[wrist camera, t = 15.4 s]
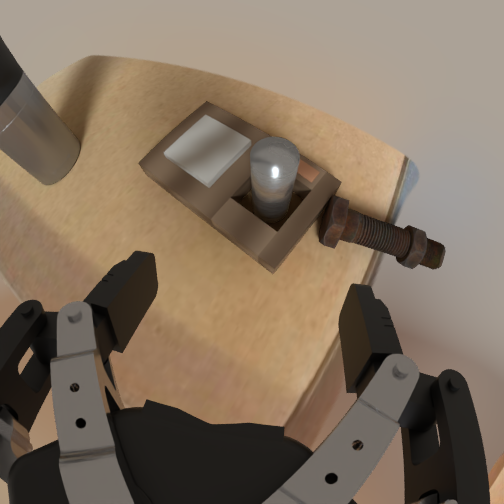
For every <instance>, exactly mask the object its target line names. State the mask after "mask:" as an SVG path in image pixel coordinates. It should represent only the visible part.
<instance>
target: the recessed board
mask: <svg viewBox="0 0 504 504" xmlns="http://www.w3.org/2000/svg"><path fill="white" fill-rule="evenodd" d="M267 137H272V136H270V135H268V134H267V133H265V132H263V131H261V130H260V129H258V128H256V127H254V126H253V125H251V124H249V123H247V122H245V121H244V120H242V119H240V118H238V117H236V116H234V115H233V114H231V113H229V112H227V111H225V110H223V109H221V108H219V107H217V106H215V105H213V104H211V103H209V102H207V101H206V102H205V103H204V104H203V105H201V106H200V107H199V108H198V109H196V110H195V111H194V112H193V113H192V114H191V115H189V116H188V117H187V118H186V119H185V120H183V121H182V122H181V123H180V124H179V125H178V126H177V127H176V128H174V129H173V130H172V131H171V132H170V133H169V134H168V135H167V136H166V137H164V138H163V139H162V140H161V141H160V142H159V143H158V144H157V145H156V146H155V147H154V148H153V149H152V150H151V151H150V152H149V153H148V154H147V155H146V156H145V157H144V158H143V159H142V160H141V161H140V162H139V165H140V166H141V168H142V169H143V171H144V172H145V174H146V175H147V176H148V177H150V178H151V179H152V180H153V181H155V182H156V183H157V184H158V185H160V186H161V187H162V188H164V189H165V190H166V191H167V192H169V193H170V194H171V195H172V196H174V197H175V198H176V199H177V200H179V201H180V202H181V203H183V204H184V205H185V206H186V207H188V208H189V209H190V210H192V211H193V212H194V213H195V214H197V215H198V216H199V217H200V218H202V219H203V220H204V221H206V222H207V223H208V224H209V225H211V226H212V227H213V228H214V229H216V230H217V231H218V232H220V233H221V234H222V235H223V236H225V237H226V238H227V239H229V240H230V241H231V242H232V243H234V244H235V245H236V246H237V247H239V248H240V249H241V250H243V251H244V252H245V253H246V254H248V255H249V256H250V257H252V258H253V259H254V260H255V261H257V262H258V263H259V264H261V265H262V266H263V267H264V268H266V269H267V270H268V271H270V272H271V273H272V274H274V273H275V271H276V270H277V269H278V268H279V266H280V265H281V264H282V263H283V261H284V260H285V259H286V258H287V256H288V255H289V254H290V252H291V251H292V250H293V249H294V247H295V246H296V245H297V244H298V242H299V241H300V240H301V238H302V237H303V236H304V234H305V233H306V232H307V231H308V229H309V228H310V227H311V225H312V224H313V223H314V222H315V220H316V219H317V218H318V216H319V215H320V214H321V212H322V211H323V210H324V208H325V207H326V206H327V203H328V201H329V199H330V198H331V196H332V195H335V194H336V192H337V190H338V188H339V186H340V184H341V183H342V182H341V181H339V180H338V179H336V178H335V177H334V176H332V175H331V174H329V173H328V172H326V171H325V170H324V169H322V168H321V167H319V166H318V165H316V164H315V163H313V162H312V161H310V160H309V159H307V158H305V157H304V156H302V155H301V154H300V161H299V166H298V170H297V174H296V179H295V183H294V187H293V192H294V193H295V194H297V195H298V196H300V197H301V198H303V199H304V200H303V201H302V203H301V204H300V205H299V206H298V208H297V209H296V210H295V211H294V212H293V214H292V215H291V216H290V217H289V219H288V220H287V221H286V222H285V223H284V225H283V226H282V227H281V228H280V230H279V231H278V232H277V231H275V230H274V229H273V228H271V227H270V226H269V225H267V224H266V223H264V222H263V221H262V220H260V219H259V218H258V217H256V216H255V215H254V214H252V213H251V212H250V211H248V210H247V209H245V208H244V207H243V206H241V205H240V204H239V202H240V201H241V200H242V199H243V197H244V196H245V195H246V194H247V193H248V192H249V191H250V190H251V189H252V184H251V165H250V152H251V149H252V147H253V146H254V145H255V143H257V142H258V141H259V140H261V139H264V138H267Z"/></svg>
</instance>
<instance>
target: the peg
mask: <svg viewBox="0 0 504 504" xmlns="http://www.w3.org/2000/svg"><path fill="white" fill-rule="evenodd" d="M299 161H300V154H299V151H298V149H297V148H296V146H295V145H294V144H293V143H292V142H290V141H288V140H287V139H284V138H281V137H267V138H264V139H261V140H259V141H258V142H257V143H255V145H254V146H253V147H252V149H251V152H250V165H251V184H252V204H253V211H254V213H255V215H256V216H257V217H258V218H259V219H260V220H262V221H264V222H267V223H274V222H278V221H280V220H282V219H283V218H284V217H285V216H286V214H287V212H288V208H289V204H290V200H291V195H292V191H293V187H294V183H295V179H296V174H297V170H298V166H299Z"/></svg>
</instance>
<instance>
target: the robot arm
mask: <svg viewBox="0 0 504 504" xmlns="http://www.w3.org/2000/svg"><path fill="white" fill-rule="evenodd" d="M0 149H1V150H2V151H3V152H4V153H6V154H7V155H8V156H9V157H10V158H11V159H13V160H14V161H15V162H16V163H17V164H19V165H20V166H21V167H22V168H23V169H25V170H26V171H27V172H28V173H29V174H31V175H32V176H33V177H35V178H36V179H37V180H38V181H40V182H41V183H42V184H44V185H51V184H54V183H56V182H58V181H59V180H60V179H62V178H63V177H64V176H65V175H66V174H67V173H68V172H69V171H70V169H71V168H72V167H73V165H74V163H75V162H76V160H77V157H78V155H79V151H80V143H79V141H78V139H77V138H76V137H75V135H74V134H73V133H72V132H71V131H70V129H69V128H68V127H67V126H66V124H65V123H64V122H63V121H62V120H61V118H60V117H59V116H58V115H57V114H56V112H55V111H54V110H53V109H52V107H51V106H50V105H49V104H48V102H47V101H46V100H45V99H44V97H43V96H42V95H41V93H40V92H39V91H38V90H37V88H36V87H35V86H34V84H33V83H32V82H31V81H30V79H29V78H28V77H27V75H26V74H25V73H24V71H23V70H22V68H21V67H20V66H19V64H18V63H17V61H16V60H15V58H14V57H13V55H12V54H11V52H10V51H9V49H8V48H7V46H6V45H5V43H4V41H3V40H2V38H1V36H0ZM157 290H158V280H157V272H156V263H155V256H154V254H153V253H148V252H142V251H135V252H134V253H133V254H132V255H131V256H130V257H129V258H128V259H127V260H123V261H121V262H120V263H118V264H116V265H114V266H113V267H112V268H111V269H110V271H109V272H108V273H107V275H105V276H104V277H103V278H102V281H100V282H99V283H98V284H97V285H96V286H95V288H94V289H93V290H92V291H91V292H90V293H89V295H88V296H87V297H86V298H85V299H84V301H83V302H81V301H76V302H71V303H69V304H67V305H65V306H64V307H63V308H62V309H61V310H60V311H59V312H45V311H44V309H43V307H42V304H41V303H40V302H39V301H37V300H28V301H25V302H23V303H22V304H20V305H19V306H18V307H17V308H16V310H15V311H14V312H13V313H12V314H11V316H10V317H9V318H8V319H7V320H6V322H5V323H4V324H3V326H2V327H1V328H0V478H1V479H2V480H4V481H5V482H6V483H7V484H8V493H9V503H10V504H357V503H356V502H355V501H354V500H353V499H352V498H353V497H354V496H355V494H356V493H357V492H358V490H359V489H360V488H361V486H362V485H363V484H364V482H365V481H366V480H367V478H368V477H369V475H370V474H371V472H372V471H373V470H374V468H375V467H376V465H377V464H378V462H379V460H380V459H381V457H382V456H383V454H384V453H385V451H386V449H387V448H388V446H389V444H390V443H391V441H392V439H393V438H394V436H395V434H396V433H397V431H398V429H399V427H401V433H402V445H403V458H404V482H405V504H490V492H489V481H488V473H487V466H486V459H485V454H484V447H483V443H482V438H481V433H480V428H479V424H478V420H477V416H476V412H475V408H474V405H473V401H472V398H471V394H470V391H469V388H468V385H467V382H466V380H465V378H464V377H463V376H462V375H461V374H460V373H459V372H457V371H455V370H452V369H448V370H444V371H443V372H442V373H441V374H440V375H439V376H438V377H433V376H430V375H426V374H423V373H420V372H419V369H418V367H417V365H416V364H415V362H414V361H413V360H412V359H410V358H409V357H407V356H405V355H403V352H402V349H401V346H400V343H399V340H398V337H397V334H396V331H395V328H394V325H393V322H392V320H391V316H390V314H389V311H388V308H387V307H386V306H385V305H384V303H383V302H382V301H381V300H380V299H375V297H374V294H373V291H372V288H371V286H369V285H361V284H351V286H350V288H349V291H348V293H347V296H346V299H345V302H344V304H343V307H342V310H341V312H340V316H339V333H340V340H341V348H342V355H343V363H344V372H345V381H346V391H347V393H357V400H356V401H355V403H354V404H353V405H352V407H351V408H350V409H349V411H348V412H347V413H346V414H345V416H344V417H343V418H342V419H341V421H340V422H339V423H338V425H337V426H336V427H335V428H334V429H333V430H332V432H331V433H330V434H329V435H328V436H327V438H326V439H325V440H324V441H323V442H322V443H321V444H320V445H319V446H318V448H317V449H316V450H315V451H314V452H312V451H311V450H310V449H309V448H308V447H306V446H305V445H304V444H302V443H300V442H298V441H297V440H295V439H292V438H290V437H287V436H284V427H280V426H271V425H262V424H255V423H238V424H209V423H207V422H205V421H202V420H200V419H198V418H196V417H194V416H192V415H190V414H188V413H186V412H184V411H182V410H180V409H178V408H175V407H171V406H167V405H164V404H160V403H157V402H154V401H150V400H146V402H145V404H144V407H132V408H125V407H124V405H123V403H122V400H121V398H120V394H119V391H118V387H117V383H116V380H115V376H114V371H113V367H112V363H111V359H110V356H109V355H110V353H111V351H112V350H114V351H117V352H120V353H123V351H124V350H125V348H126V346H127V344H128V343H129V341H130V339H131V337H132V336H133V334H134V332H135V330H136V329H137V327H138V325H139V324H140V322H141V320H142V319H143V317H144V315H145V314H146V312H147V310H148V309H149V307H150V305H151V304H152V302H153V300H154V299H155V297H156V294H157ZM29 347H30V348H31V350H32V351H33V353H34V354H33V355H32V357H31V358H30V360H29V362H28V363H27V364H26V366H25V368H24V370H23V371H22V373H21V374H20V375H19V372H18V364H19V362H20V360H21V359H22V357H23V356H24V354H25V352H26V351H27V350H28V348H29ZM51 387H52V397H53V407H54V415H55V422H56V429H57V435H58V440H56V441H54V442H51V443H49V444H47V445H45V446H43V447H40V448H38V449H36V450H33V447H32V444H31V443H30V437H29V431H30V429H31V427H32V425H33V423H34V420H35V419H36V416H37V414H38V412H39V410H40V408H41V406H42V404H43V402H44V400H45V398H46V396H47V395H48V393H49V391H50V389H51ZM436 424H438V430H439V437H440V446H439V441H438V435H437V429H436ZM32 450H33V451H32Z"/></svg>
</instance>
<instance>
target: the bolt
mask: <svg viewBox="0 0 504 504" xmlns="http://www.w3.org/2000/svg"><path fill="white" fill-rule="evenodd" d="M348 206H349V200H346V199H343V198H340V197H337V196H334V195H332V196H331V198H330V199H329V201H328V203H327V206H326V209H325V212H324V215H323V219H322V223H321V227H320V233H319V242H320V243H321V244H323V245H324V246H328V247H331V248H335V247H336V245H337V243H338V241H339V240H343V241H346V242H349V243H350V242H352V243H353V242H354V243H355V244H356V243H357V244H358V245H359V244H360V245H363V246H365V247H368V248H371V249H374V250H378V251H381V252H384V253H387V254H390V255H394V256H396V260H397V262H399V263H400V264H402V265H403V266H405V267H408V268H411V269H413V268H415V267H416V266H417V265H418V264H420V265H423V266H426V267H429V268H431V269H437V268H439V267H441V265H442V262H443V259H444V255H445V247H444V245H442V244H441V243H438V242H436V241H434V240H431V239H428V238H427V237H426V233H425V232H424V231H422V230H419V229H417V228H415V227H412V226H409V225H408V226H407V227H405V228H404V229H402V228H400V227H397V226H395V225H392V224H389V223H387V222H382V221H379V220H377V219H374V218H371V217H369V216H366V215H363V214H361V213H359V212H357V211H354V210H351V209H348Z"/></svg>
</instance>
